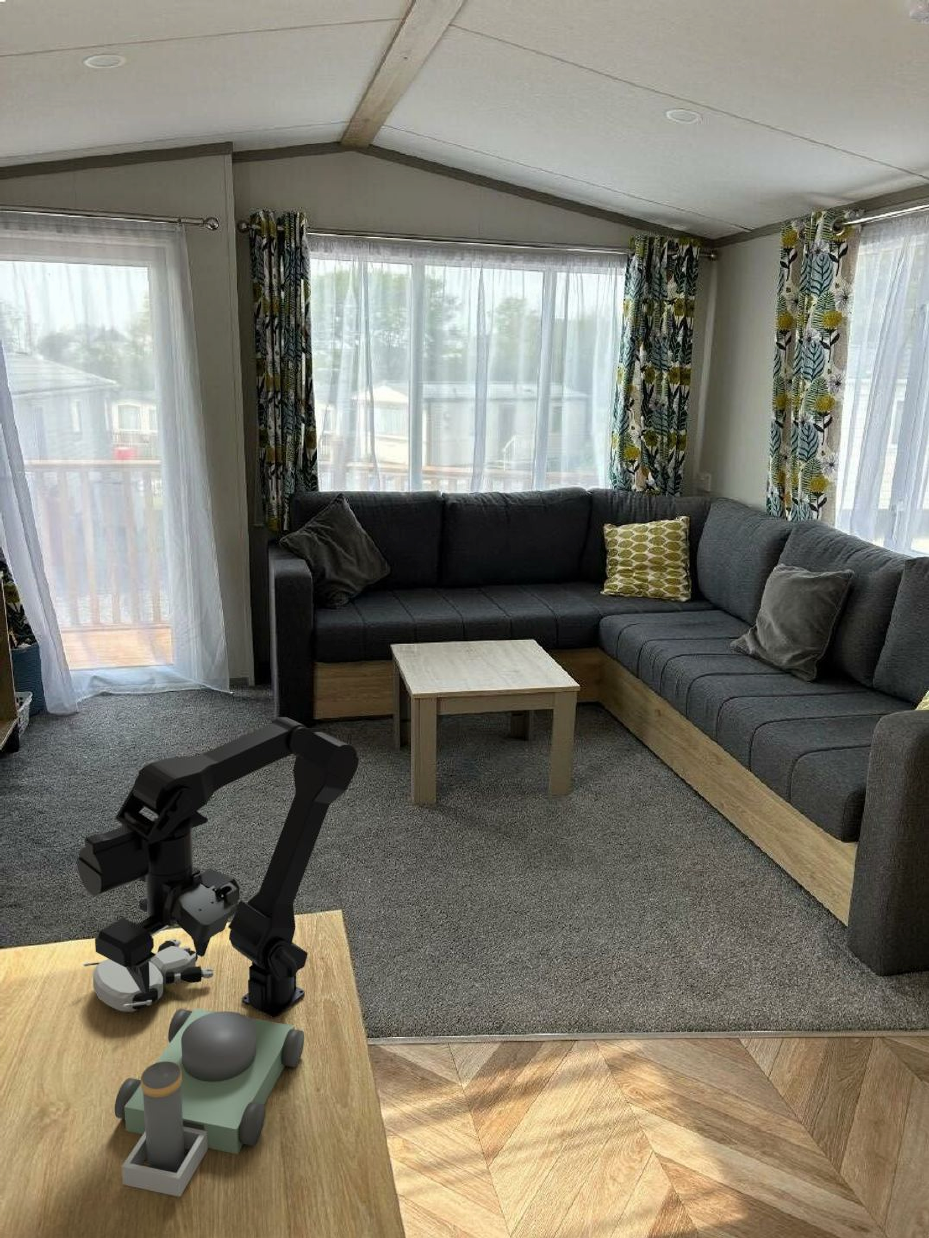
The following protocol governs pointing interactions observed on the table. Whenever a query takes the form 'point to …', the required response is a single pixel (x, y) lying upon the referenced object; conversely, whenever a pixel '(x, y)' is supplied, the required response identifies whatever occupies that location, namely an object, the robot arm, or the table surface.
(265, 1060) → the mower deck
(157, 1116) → the grey banded cylinder
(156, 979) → the robot toy
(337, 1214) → the table surface
